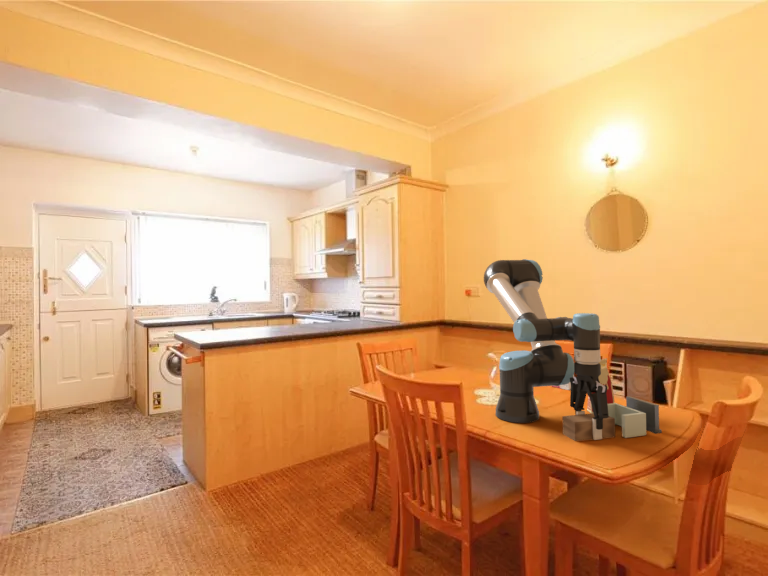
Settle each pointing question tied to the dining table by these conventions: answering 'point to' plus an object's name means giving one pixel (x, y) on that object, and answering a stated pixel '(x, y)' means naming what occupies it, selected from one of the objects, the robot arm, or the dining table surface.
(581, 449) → the dining table surface
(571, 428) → the walnut bar
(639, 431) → the socket block
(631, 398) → the plate
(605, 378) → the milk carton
